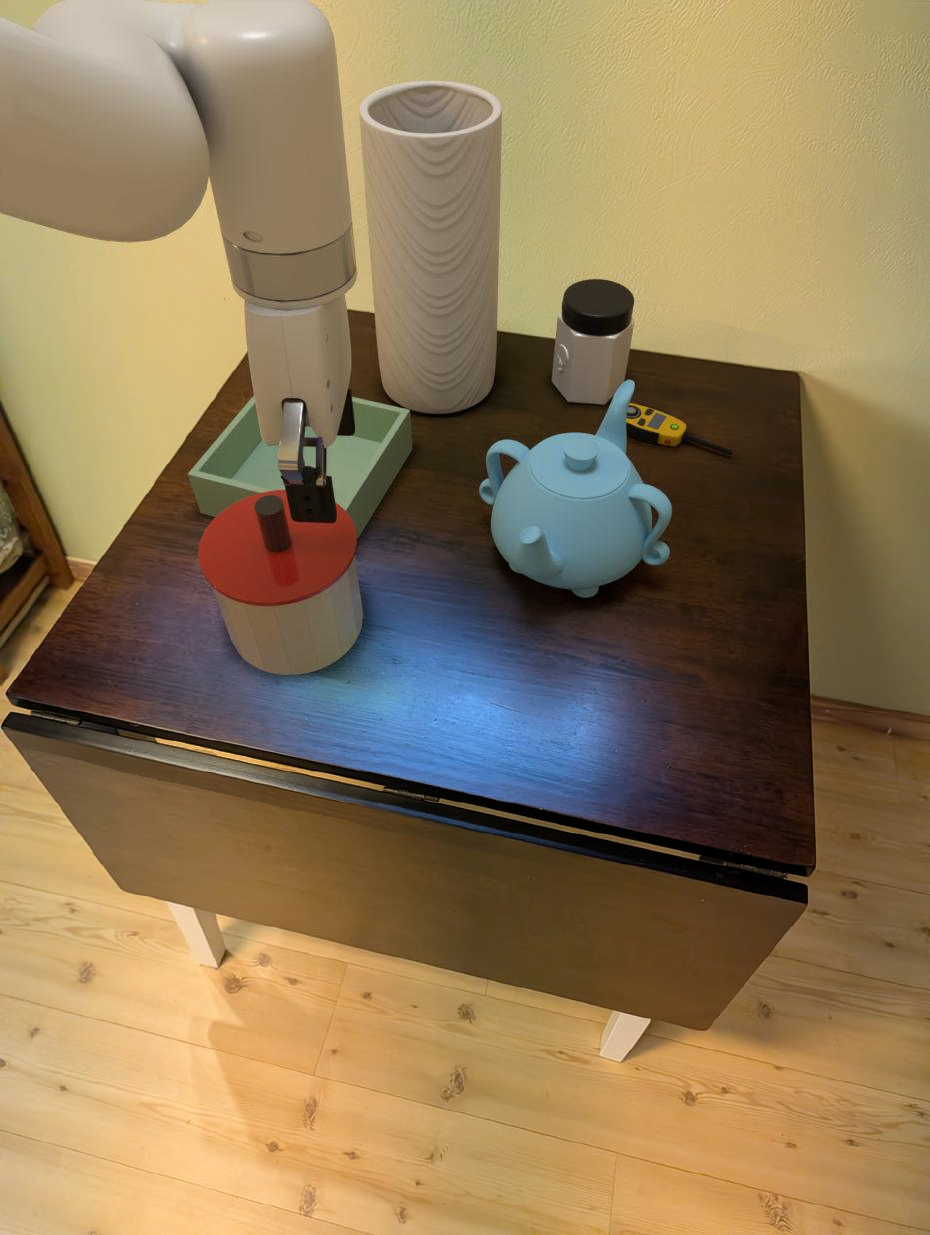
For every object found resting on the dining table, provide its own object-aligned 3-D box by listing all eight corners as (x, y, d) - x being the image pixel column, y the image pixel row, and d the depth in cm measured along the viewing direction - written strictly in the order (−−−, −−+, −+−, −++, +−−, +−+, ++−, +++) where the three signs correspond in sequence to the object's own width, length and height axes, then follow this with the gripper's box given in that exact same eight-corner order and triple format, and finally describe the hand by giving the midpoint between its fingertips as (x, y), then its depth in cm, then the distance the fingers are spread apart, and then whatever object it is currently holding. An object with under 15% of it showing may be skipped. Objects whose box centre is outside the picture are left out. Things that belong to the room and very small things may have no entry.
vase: (399, 343, 111) (381, 73, 87) (505, 359, 109) (518, 86, 85) (365, 409, 102) (335, 128, 78) (480, 427, 100) (486, 144, 76)
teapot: (614, 483, 94) (633, 375, 83) (676, 615, 82) (708, 510, 71) (471, 503, 92) (472, 396, 81) (514, 642, 80) (522, 537, 69)
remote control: (621, 393, 101) (742, 433, 97) (619, 406, 103) (738, 446, 98) (604, 415, 99) (728, 457, 94) (602, 428, 100) (724, 470, 95)
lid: (205, 625, 69) (188, 579, 64) (196, 512, 77) (180, 465, 73) (370, 593, 71) (364, 547, 66) (344, 487, 79) (337, 439, 75)
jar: (541, 373, 107) (549, 285, 98) (598, 358, 109) (610, 270, 100) (574, 413, 102) (585, 324, 93) (633, 397, 104) (649, 309, 95)
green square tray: (349, 553, 87) (343, 514, 83) (200, 513, 91) (187, 473, 87) (412, 449, 98) (410, 409, 93) (276, 417, 101) (268, 377, 97)
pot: (237, 687, 77) (210, 614, 69) (226, 586, 84) (201, 510, 76) (373, 659, 79) (363, 585, 71) (351, 563, 86) (339, 486, 78)
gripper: (258, 186, 55) (296, 402, 69) (191, 333, 45) (251, 556, 58) (372, 189, 55) (388, 405, 69) (332, 338, 44) (360, 561, 58)
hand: (325, 474), depth 63 cm, fingers open, 9 cm apart
